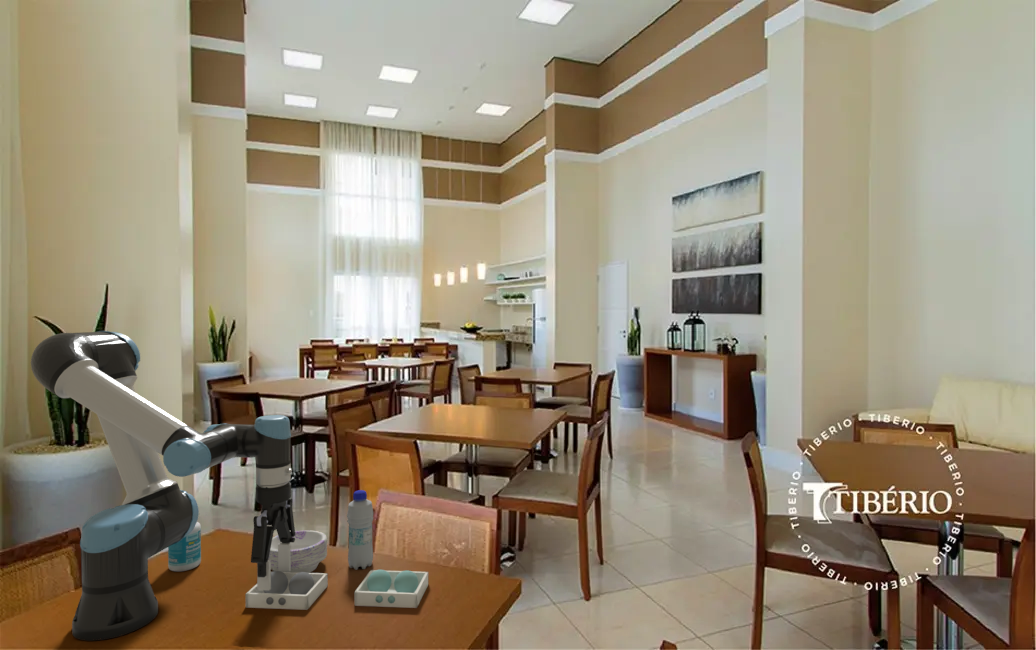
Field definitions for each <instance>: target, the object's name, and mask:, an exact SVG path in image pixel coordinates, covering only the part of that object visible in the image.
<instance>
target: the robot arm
mask: <svg viewBox="0 0 1036 650" xmlns="http://www.w3.org/2000/svg"><path fill="white" fill-rule="evenodd" d="M140 362H141V353H140V350H139V347H138V345H137V344H136V342H134V340H133V339H132V338H130V337H129V336H128V335H127V334H123V333H121V332H118V331H108V330H99V331H89V332H85V331H83V332H61V333H57V334H53V335H50V336H48V337H46V338H45V339H43V340H42V341H40V342H39V344H38V345H37V346H36V347H35V348H34V349H33V352H32V355H31V358H30V366H31V367H30V369H31V371H32V374H33V376H34V378H35V379H36V380H37V382H39V384H41V386H43V387H44V388H45V389H46V390H48V391H49V392H51V393H52V394H54V395H55V396H57V397H58V398H61V399H72V400H74V401H75V402H77V403H78V404H80V405H81V406H83V407H85V408H86V409H88V410H90V411H91V412H92V413H94V414H96V416H97V418H98V421H99V424H100V427H101V429H102V431H103V434H104V437H105V441H106V442H107V445H108V448H109V450H110V453H111V456H112V458H113V460H114V461H113V462H114V463H115V466H116V469H117V471H118V474H119V476H120V480H121V482H122V485H123V487H124V490H125V494H126V495H125V497H124V500H123V502H122V503H121V505H116V506H114V507H109V508H106V509H104V510H101V511H99V512H97V513H95V514H93V515H92V516H90V517H89V518H88V519H86V520H85V522H84V523H83V525H82V527H81V535H80V537H81V538H80V541H79V546H80V558H81V559H80V561H81V596H80V598H79V601H78V604H77V607H76V609H75V614H74V616H73V619H72V623H71V631H72V632H71V634H72V636H73V637H74V638H75V639H77V640H79V641H81V640H82V641H87V642H88V641H91V642H93V641H104V640H109V639H113V638H117V637H121V636H124V635H128V634H130V633H132V632H134V631H137V630H139V629H141V628H143V627H145V626H146V625H148V624H149V623H151V622H152V621H153V620H155V618H156V617H157V615H158V614H159V601H158V598H157V596H156V595H155V594H154V590H153V588H152V585H151V583H150V580H149V559H150V558H151V557H152V556H154V555H157V554H159V553H160V552H162V551H164V550H165V549H167V548H168V547H169V546H171V545H173V544H175V543H178V542H179V541H181V540H182V539H183V538H184V537H185V536H187V535H188V534H189V533H190V532H191V531H192V530H193V529H194V527H195V525H196V523H197V522H198V520H199V512H200V511H199V506H198V505H199V504H198V502H197V500H196V498H195V497H194V495H192V494H191V493H188V491H186V490H182V489H181V488H180V486H179V483H178V481H175V480H173V479H170V478H169V477H168V475H167V473H166V470H167V472H168V473H170V474H171V475H172V476H175V477H178V478H179V477H180V478H182V477H189V476H192V475H195V474H199V473H201V472H203V471H205V470H206V469H209V468H212V467H213V466H216V465H219V464H222V463H224V462H226V461H229V460H231V459H234V458H251V459H252V458H254V459H255V484H256V486H255V500H256V502H257V503H258V504H260V505H261V511H260V515H258V516H257V515H256V516H254V517H253V519H252V521H253V536H252V546H251V553H250V554H251V556H250V563H252V564H256V567H257V569H256V570H257V573H256V575H257V579H256V580H257V583H256V584H257V585H258V590H270V589H271V572H272V571H271V570H272V569H271V560H268V558H269V553H270V548H271V543H272V538H273V537H274V533H275V531H276V533H277V535H278V536H279V539H280V542H282V543H279V544H278V571H287V572H289V571H290V570H291V556H290V542H294V541H295V538H292V537H294V536H295V531H296V528H295V521H294V512H293V498H292V483H291V482H290V481H291V479H292V477H291V475H292V472H293V469H292V468H291V462H292V461H291V437H292V433H291V423H290V419H289V417H288V416H286V415H283V414H273V415H271V414H269V415H263V416H262V415H261V416H259V417H257V418H256V419H255V421H254V424H241V423H240V424H239V423H237V424H235V423H220V424H217V423H216V424H211V425H209V426H208V427H207V428H206V429H205V430H204V431H203V432H202V433H201V432H199V431H198V430H196V429H195V428H193V427H191V426H189V425H187V424H186V423H185V422H182V421H181V420H180V419H178V418H177V417H175V416H173V415H172V414H170V413H168V412H167V411H165V410H164V409H162V408H160V407H159V406H157V405H155V404H154V403H153V402H151V401H150V400H148V399H146V398H145V397H143V396H142V395H140V394H138V393H137V392H136V391H135V389H134V384H135V383H136V381H137V380H138V375H137V373H136V371H137V370H138V368H139V366H140V364H139V363H140ZM160 455H161V456H162V459H163V461H162V459H161V458H160ZM164 466H165V467H166V470H165V468H164Z"/></svg>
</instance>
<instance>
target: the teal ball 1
mask: <svg viewBox="0 0 1036 650" xmlns="http://www.w3.org/2000/svg"><path fill="white" fill-rule="evenodd" d="M375 570H376V571H374V572H372V573H371V574H370V576H369V578H368V581H367V586H368V589H369V591H374V592H387V591H388V590H389V588H390V586H391V576H390V574H389V573H388V572H387V571H388V570H385V569H381V568H380V569H375Z"/></svg>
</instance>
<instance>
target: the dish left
mask: <svg viewBox="0 0 1036 650" xmlns="http://www.w3.org/2000/svg"><path fill="white" fill-rule="evenodd" d="M283 573H284V574H285V575H286V576H287V578H288V586H287V589H286V590H285V592H284V593H283V594H272V593H265V592H264V591H263V590H258V585H257V583H256V584H255V585H253V586H252V588H250V589H249V590H248V591H247V592H246V593H245V608H251V609H252V608H253V609H254V608H255V609H279V610H280V609H281V610H302V611H303V610H306V611H308V609H310V607H311V606H312V605H313V604H314V603H315V602H316V600H317V599H318V598H319V597H320V596H321V595H322V593H323V592H324V591H325V590H326V589H327V588H328V586H329V585H328V584H329V579H328V578H329V577H328V575H329V573H326V572H325V573H323V572H310V573H309V574H310V575H311V576H312V577H313V579H314V586H313V587H312V588H311V589H310V591H309V592H308V593H307V594H306V595H301V594H291V593H290V591H289V582H290V580H291V578H292V577H293V576H294V575H295V574H297V573H299V572H283Z"/></svg>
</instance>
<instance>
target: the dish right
mask: <svg viewBox="0 0 1036 650" xmlns="http://www.w3.org/2000/svg"><path fill="white" fill-rule="evenodd" d="M376 570H377V569H370V571H369V572H368V573H367V574H366V576H365V577H364V579H363V580H362V581H361V583H360V584H359V585H358V587H357V588H356V589H355V591H354V592H353V593H354V594H353V595H354V596H353V597H354V606H357V607H383V608H405V609H406V608H410V609H413V608H414V609H417V608H418V606H419V605H420V602H421V601H422V598H423V596H424V594H425V592H426V590H427V588H428V586H429V571H416V570H415V571H412V572H414V573H415V574H416V576H417V578H418V587H417V589H416V591H415V592H414V593H403V592H396V590H395V587H394V582H395V578H396V576H397V575H398V574H399V573H400V572H402V571H403V570H386V571H387V572H388V573H389V574H390V576H391V586H390V588H389V590H388V591H387V592H374V591H369V589H368V586H367V581H368V578H369V576H370V574H371V573H372V572H374V571H376Z"/></svg>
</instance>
